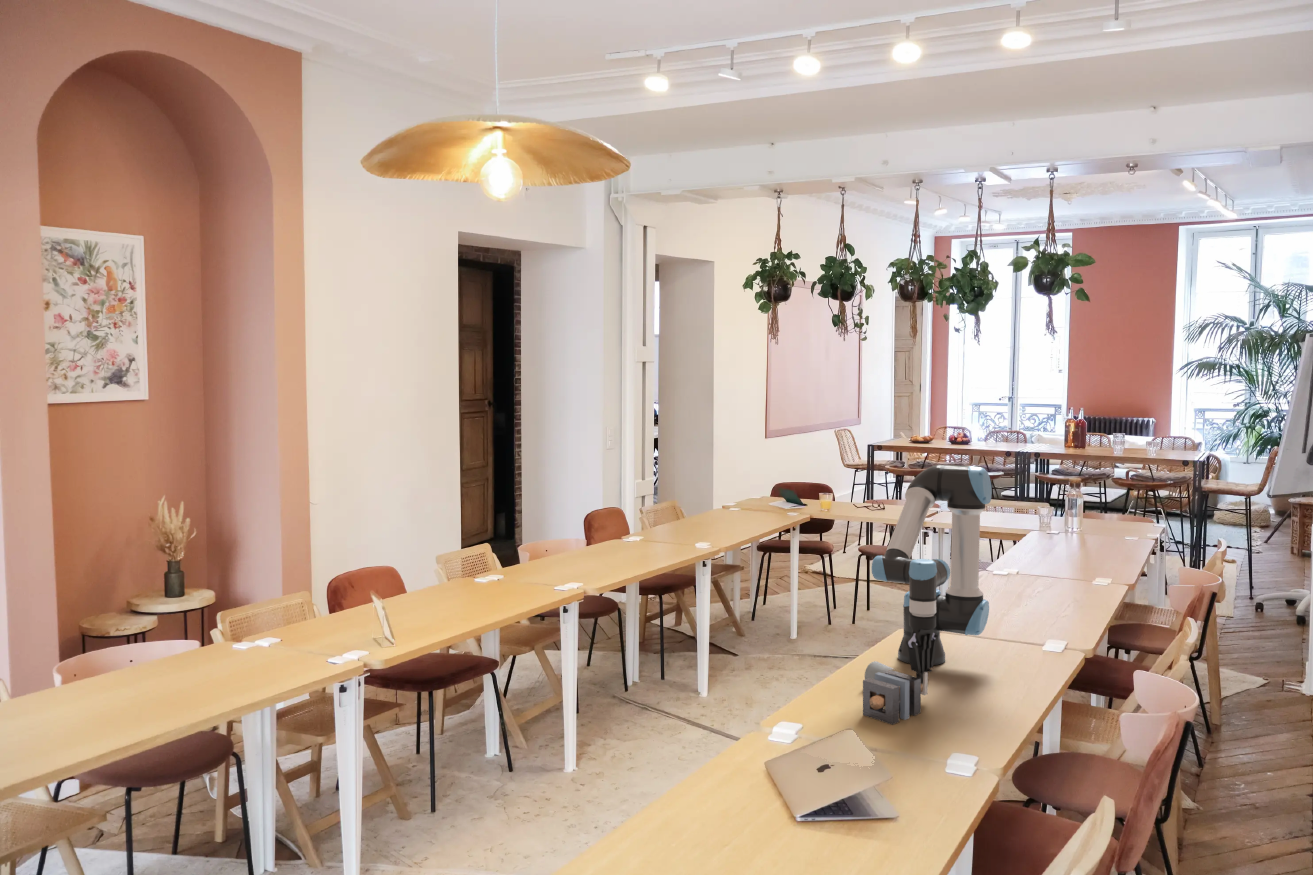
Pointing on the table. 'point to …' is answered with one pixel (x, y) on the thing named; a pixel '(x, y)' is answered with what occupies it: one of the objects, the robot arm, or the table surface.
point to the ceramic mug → (876, 669)
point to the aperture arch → (903, 691)
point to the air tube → (881, 700)
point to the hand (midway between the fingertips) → (922, 693)
